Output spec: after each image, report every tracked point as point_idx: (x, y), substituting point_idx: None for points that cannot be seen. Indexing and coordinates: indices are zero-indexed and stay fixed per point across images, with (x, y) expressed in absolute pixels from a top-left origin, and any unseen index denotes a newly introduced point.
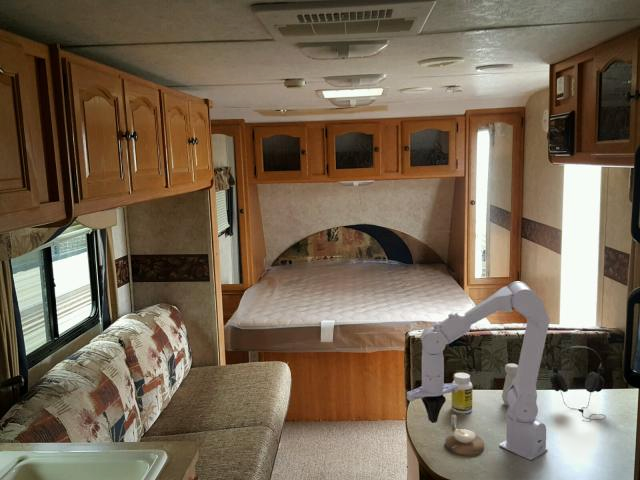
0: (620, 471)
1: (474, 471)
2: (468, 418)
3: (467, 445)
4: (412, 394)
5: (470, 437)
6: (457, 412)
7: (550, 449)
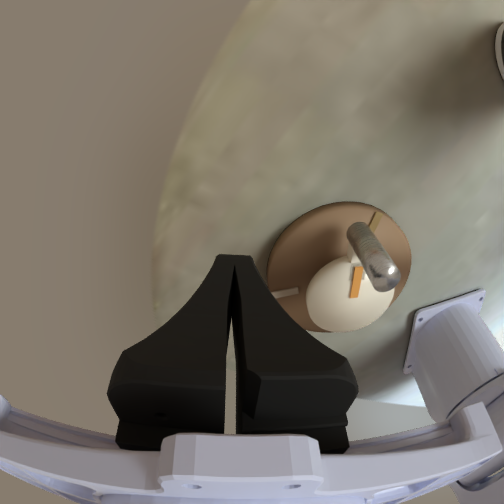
0: None
1: None
2: (496, 121)
3: None
4: (5, 471)
5: (350, 324)
6: (497, 62)
7: None
